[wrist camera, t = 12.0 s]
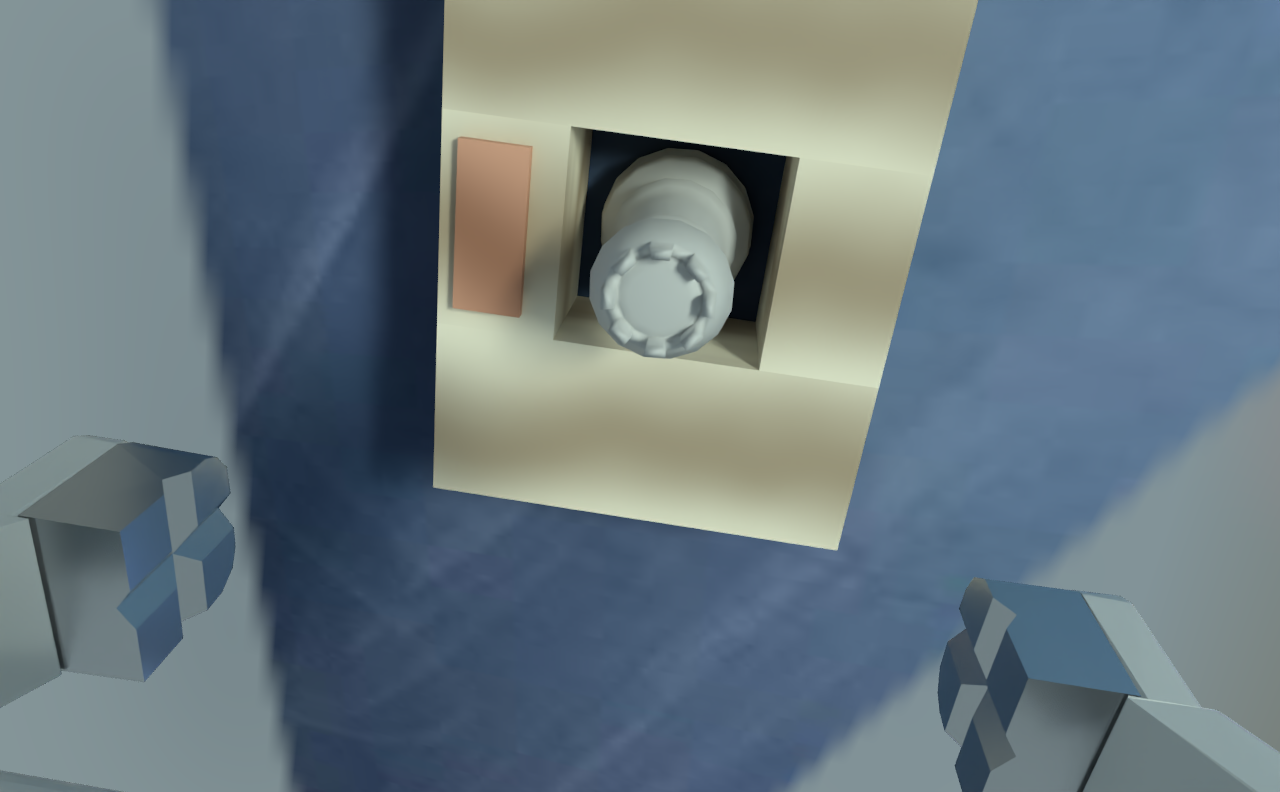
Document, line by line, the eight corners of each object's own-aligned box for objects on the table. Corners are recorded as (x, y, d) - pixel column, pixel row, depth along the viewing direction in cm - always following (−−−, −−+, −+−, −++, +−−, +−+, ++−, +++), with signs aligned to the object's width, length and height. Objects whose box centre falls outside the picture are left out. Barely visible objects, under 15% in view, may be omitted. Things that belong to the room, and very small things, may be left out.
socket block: (493, -114, 23) (444, -140, 19) (952, -56, 22) (999, -70, 18) (470, 428, 29) (429, 492, 25) (824, 482, 29) (838, 556, 25)
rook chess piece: (589, 272, 27) (536, 369, 19) (623, 126, 25) (579, 173, 18) (728, 311, 27) (728, 421, 20) (773, 168, 25) (791, 232, 18)
